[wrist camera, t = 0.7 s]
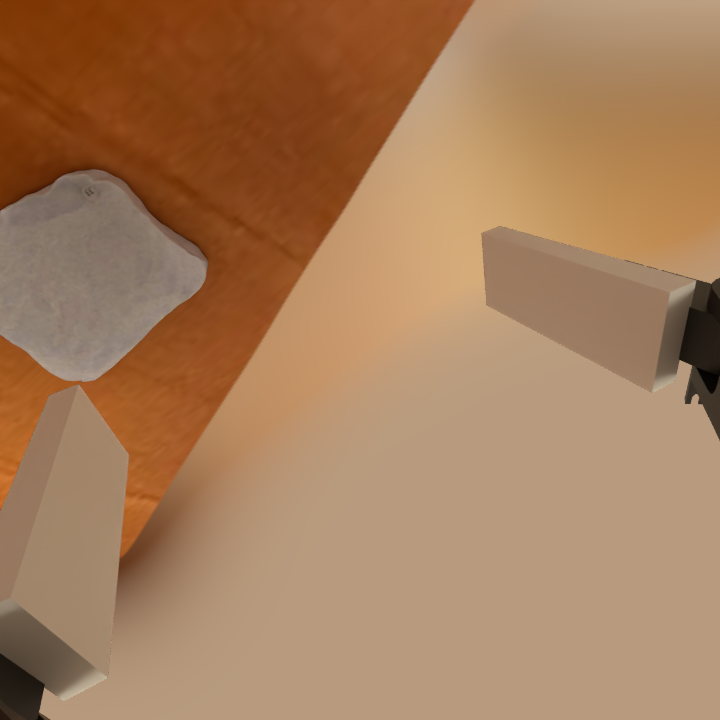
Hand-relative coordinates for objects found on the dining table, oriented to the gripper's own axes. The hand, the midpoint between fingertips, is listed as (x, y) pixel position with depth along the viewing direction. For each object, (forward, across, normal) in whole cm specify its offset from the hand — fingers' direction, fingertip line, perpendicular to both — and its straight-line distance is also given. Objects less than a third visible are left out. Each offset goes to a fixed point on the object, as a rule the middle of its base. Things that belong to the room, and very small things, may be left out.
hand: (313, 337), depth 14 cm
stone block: (+20, -9, 0) cm, 22 cm away
